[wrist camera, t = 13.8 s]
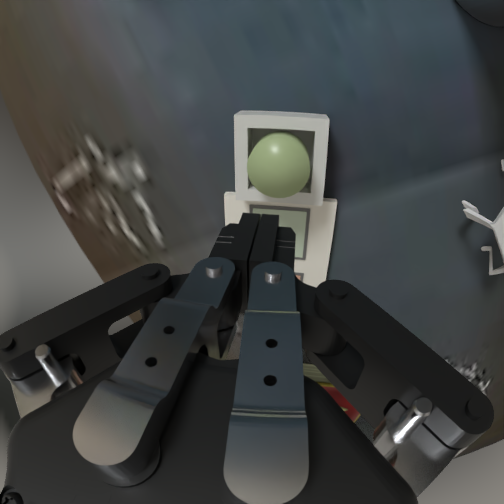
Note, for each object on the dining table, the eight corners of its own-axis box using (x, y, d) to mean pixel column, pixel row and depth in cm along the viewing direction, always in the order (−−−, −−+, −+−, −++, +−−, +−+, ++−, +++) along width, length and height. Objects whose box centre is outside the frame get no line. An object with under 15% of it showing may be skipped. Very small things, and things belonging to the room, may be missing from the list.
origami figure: (446, 171, 24) (470, 191, 19) (510, 148, 21) (539, 164, 16) (462, 270, 29) (478, 298, 25) (517, 246, 26) (537, 270, 22)
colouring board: (336, 198, 27) (337, 203, 26) (318, 314, 34) (318, 320, 34) (226, 191, 28) (223, 195, 27) (231, 306, 36) (229, 312, 35)
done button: (310, 132, 22) (311, 140, 20) (307, 186, 24) (307, 200, 22) (253, 129, 23) (246, 137, 20) (252, 182, 25) (247, 196, 22)
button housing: (326, 114, 23) (329, 119, 21) (320, 192, 27) (322, 205, 24) (241, 110, 24) (233, 114, 21) (242, 187, 28) (235, 199, 25)
